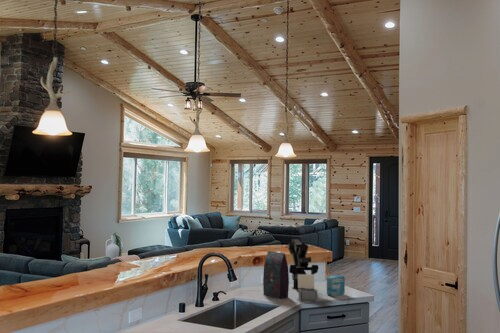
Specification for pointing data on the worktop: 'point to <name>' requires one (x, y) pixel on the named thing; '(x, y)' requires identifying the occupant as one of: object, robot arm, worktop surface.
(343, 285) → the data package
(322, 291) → the worktop surface
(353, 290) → the worktop surface
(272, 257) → the dark coffee bag
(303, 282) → the lid
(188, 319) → the worktop surface
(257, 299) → the worktop surface
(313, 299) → the storage box
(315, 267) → the robot arm
